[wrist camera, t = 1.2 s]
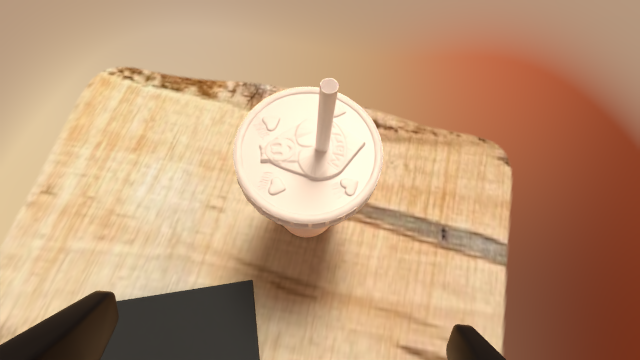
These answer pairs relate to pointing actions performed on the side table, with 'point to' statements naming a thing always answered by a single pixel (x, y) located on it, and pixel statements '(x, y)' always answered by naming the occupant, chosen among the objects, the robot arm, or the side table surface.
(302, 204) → the smoothie
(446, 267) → the side table surface
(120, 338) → the coaster
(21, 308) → the side table surface
